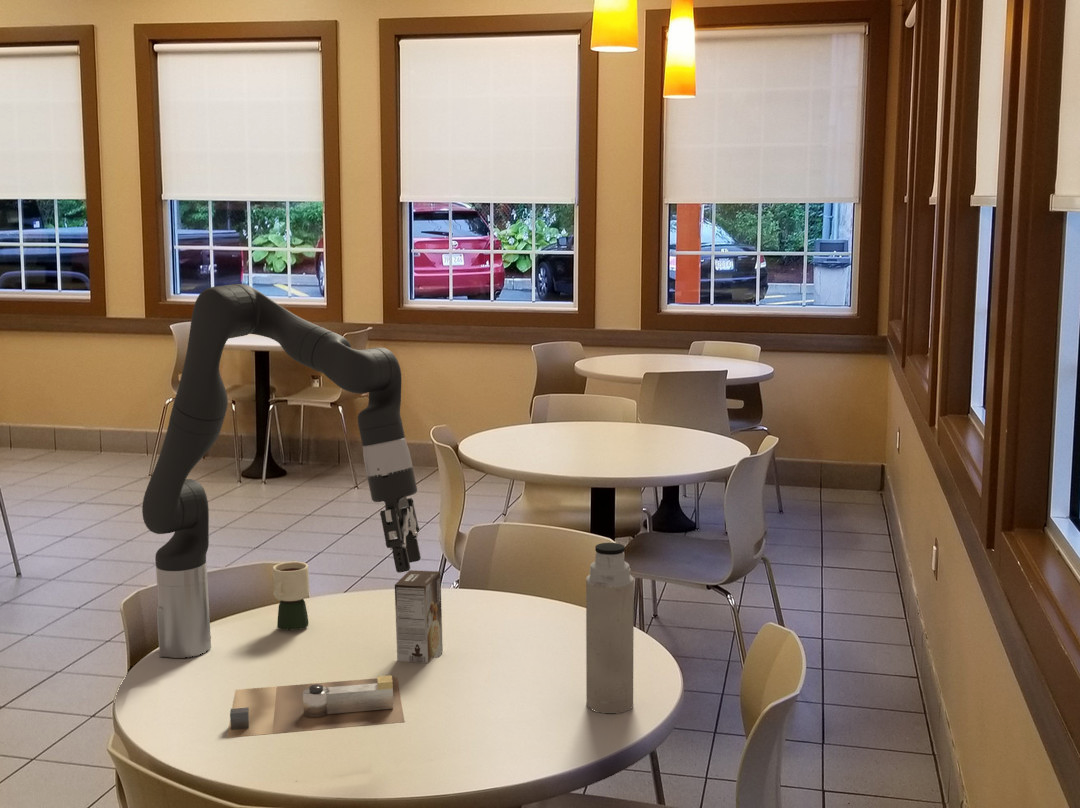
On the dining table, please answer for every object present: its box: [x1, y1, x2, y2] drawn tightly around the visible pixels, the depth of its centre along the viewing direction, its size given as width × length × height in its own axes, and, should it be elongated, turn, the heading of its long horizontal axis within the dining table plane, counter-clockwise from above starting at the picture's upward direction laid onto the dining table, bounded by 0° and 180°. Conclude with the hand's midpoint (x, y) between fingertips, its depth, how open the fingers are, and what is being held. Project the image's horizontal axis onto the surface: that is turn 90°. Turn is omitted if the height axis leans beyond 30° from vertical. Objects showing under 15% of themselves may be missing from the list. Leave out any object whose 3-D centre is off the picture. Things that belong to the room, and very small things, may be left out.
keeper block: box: [229, 707, 250, 730], centre depth 185 cm, size 3×2×3 cm, turn 101°
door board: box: [226, 676, 405, 739], centre depth 194 cm, size 28×19×1 cm
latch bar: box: [303, 675, 393, 717], centre depth 191 cm, size 15×4×5 cm, turn 101°
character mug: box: [272, 561, 310, 631], centre depth 233 cm, size 11×7×13 cm, turn 162°
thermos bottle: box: [585, 542, 635, 714], centre depth 194 cm, size 8×8×28 cm
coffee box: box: [394, 569, 444, 664], centre depth 215 cm, size 9×6×16 cm
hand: (409, 566), depth 188 cm, fingers open, 8 cm apart
